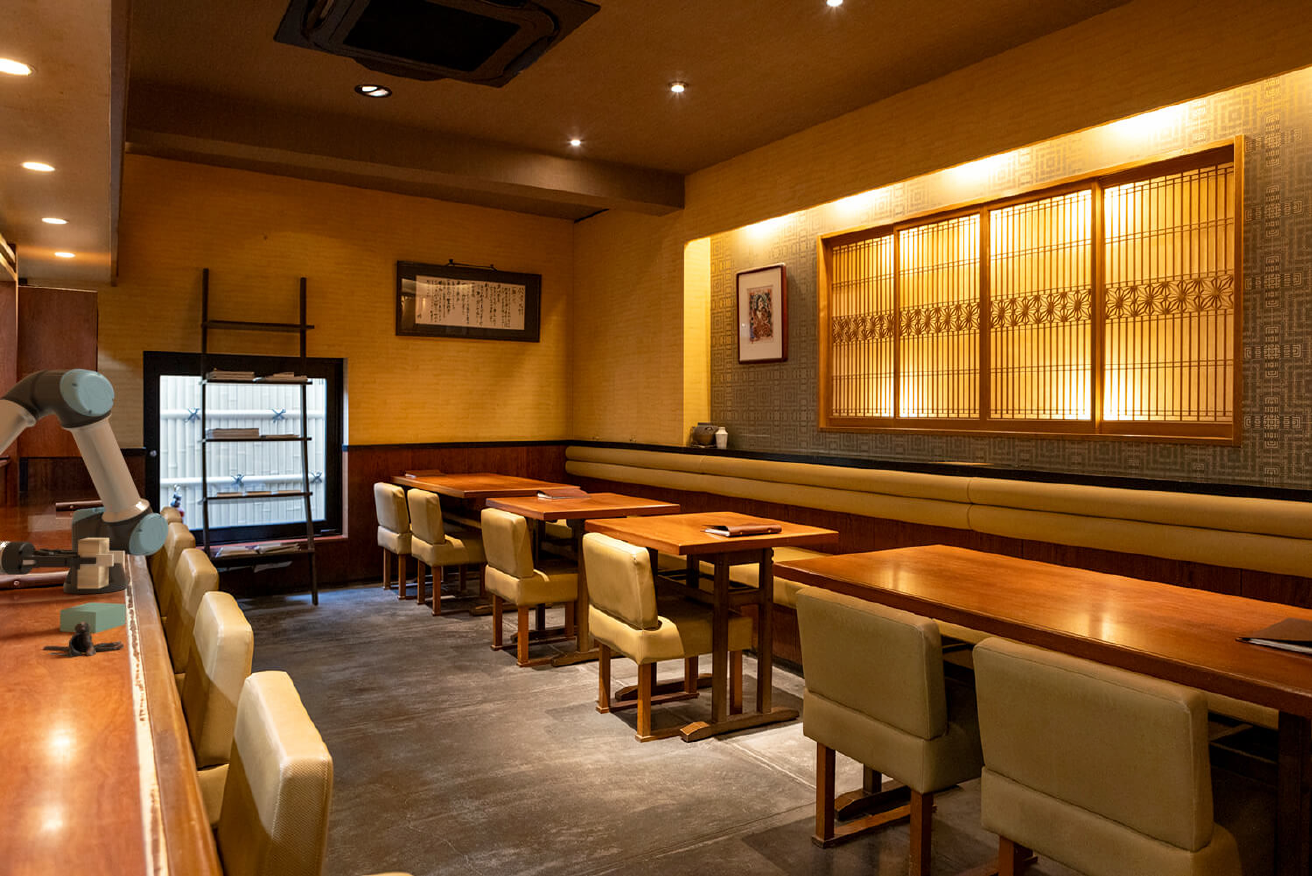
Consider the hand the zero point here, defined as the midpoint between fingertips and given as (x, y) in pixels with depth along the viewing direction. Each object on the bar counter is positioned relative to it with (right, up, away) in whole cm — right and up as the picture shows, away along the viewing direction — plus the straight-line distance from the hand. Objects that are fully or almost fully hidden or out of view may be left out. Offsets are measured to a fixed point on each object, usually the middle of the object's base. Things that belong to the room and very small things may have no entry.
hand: (118, 558), depth 203 cm
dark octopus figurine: (+5, -17, -20) cm, 27 cm away
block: (-5, -6, -1) cm, 8 cm away
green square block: (-6, -16, 0) cm, 17 cm away
